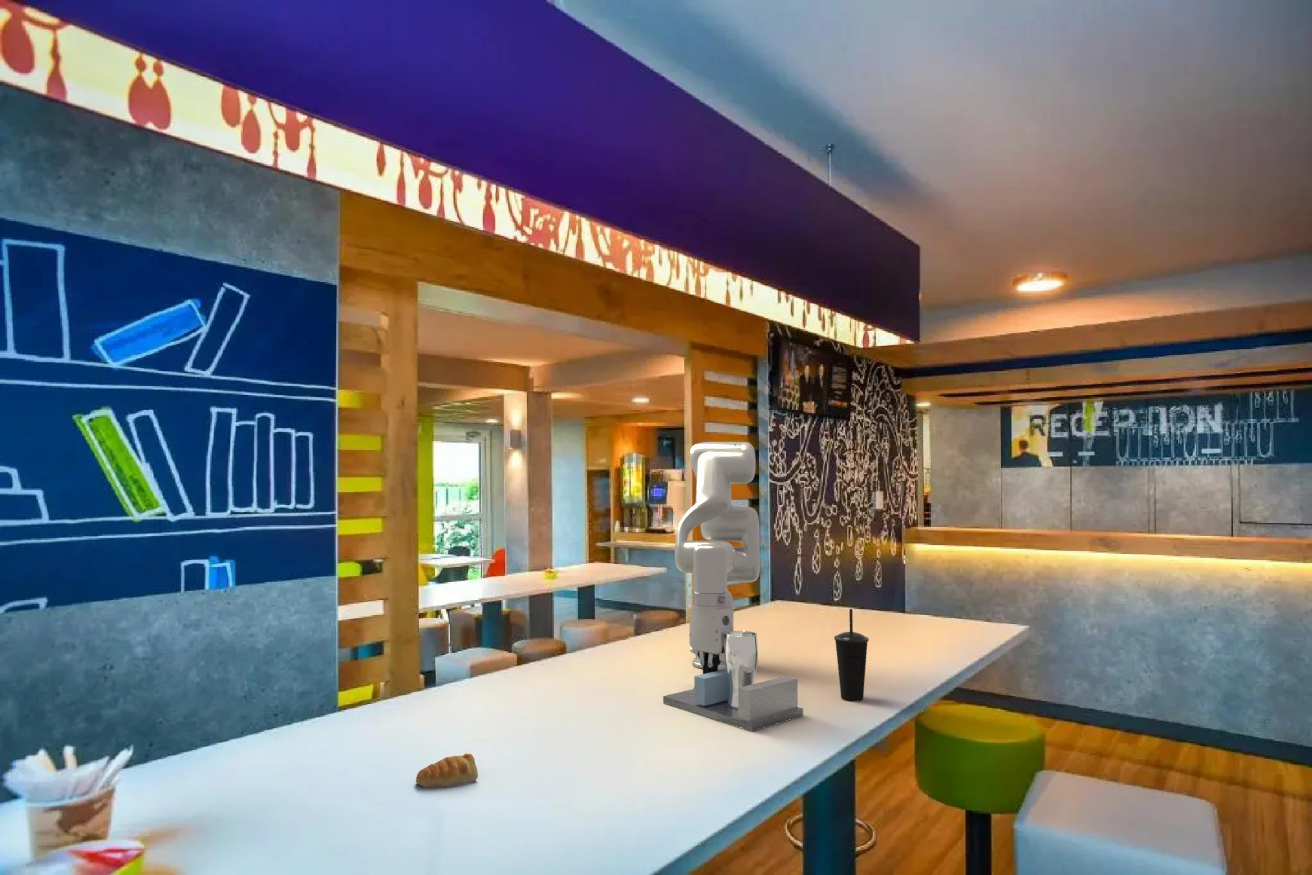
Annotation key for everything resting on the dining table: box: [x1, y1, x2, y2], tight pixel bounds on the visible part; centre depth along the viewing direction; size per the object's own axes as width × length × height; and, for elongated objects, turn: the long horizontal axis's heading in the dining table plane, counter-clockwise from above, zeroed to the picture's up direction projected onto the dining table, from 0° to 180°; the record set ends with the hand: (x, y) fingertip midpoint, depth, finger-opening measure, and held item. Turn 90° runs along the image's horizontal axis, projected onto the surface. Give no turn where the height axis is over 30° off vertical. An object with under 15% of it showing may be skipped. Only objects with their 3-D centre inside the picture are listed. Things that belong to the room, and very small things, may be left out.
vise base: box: [662, 675, 804, 732], centre depth 164 cm, size 26×16×8 cm, turn 41°
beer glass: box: [725, 630, 759, 709], centre depth 161 cm, size 7×7×15 cm
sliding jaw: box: [693, 669, 729, 706], centre depth 165 cm, size 3×14×6 cm, turn 131°
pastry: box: [415, 753, 479, 789], centre depth 123 cm, size 9×7×4 cm
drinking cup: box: [833, 608, 870, 702], centre depth 173 cm, size 8×8×20 cm
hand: (710, 683), depth 168 cm, fingers closed
